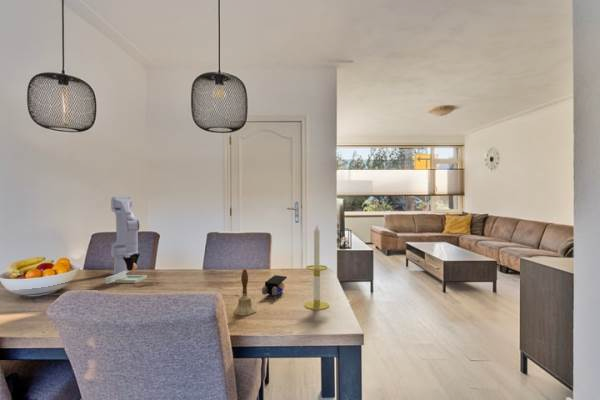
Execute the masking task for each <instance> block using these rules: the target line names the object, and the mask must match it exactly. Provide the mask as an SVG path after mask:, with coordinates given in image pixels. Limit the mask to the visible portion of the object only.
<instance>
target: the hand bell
mask: <svg viewBox="0 0 600 400" xmlns="http://www.w3.org/2000/svg"><path fill="white" fill-rule="evenodd" d="M240 278H241V284H242V285H241V286H242V295H241V296H240V297H239V298H238V302H237V307H236V308H235V309H234V310H233V314H234V315H236V316H244V317H245V316H251V315H253V314H255V313H256V312H257V310H256V308H255V307H254V306H253V304H252V298H251V296H249V295H248V282H249V275H248V271H247V269H245V268H244V269H242V273H241V277H240Z"/></svg>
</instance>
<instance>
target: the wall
mask: <svg viewBox="0 0 600 400" xmlns="http://www.w3.org/2000/svg"><path fill="white" fill-rule="evenodd" d="M125 276H127V273H126V271H123V272H120V273H118V274H111V275H109V276H108V277H107V276H106V277H105V279H104V283H105V285H108V284H110V283H113V282H116V280H117V279H119V278H122V277H125Z"/></svg>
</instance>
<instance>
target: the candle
mask: <svg viewBox="0 0 600 400" xmlns="http://www.w3.org/2000/svg"><path fill="white" fill-rule="evenodd" d="M313 233H314V234H313V260H314V261H313V264H311V265H306V267H305V268H306V270H309V271H313V300H312V301H308V302H305V303H304V308H306V309H309V310H313V311H322V310H326V309H329V308H330V305H329V303H328V302H325V301H322V300H321V271H326V270H327V269H328V267H327V266H326V265H321V264H320V229H319V228H318V225H316V226H315V229H314V231H313Z"/></svg>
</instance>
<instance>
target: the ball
mask: <svg viewBox="0 0 600 400" xmlns="http://www.w3.org/2000/svg"><path fill="white" fill-rule="evenodd" d="M137 268H138V265H137V264H135V263H133V269H132V270H127V271H129V273H133V272H136V270H137ZM126 269H127V266H126Z"/></svg>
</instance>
